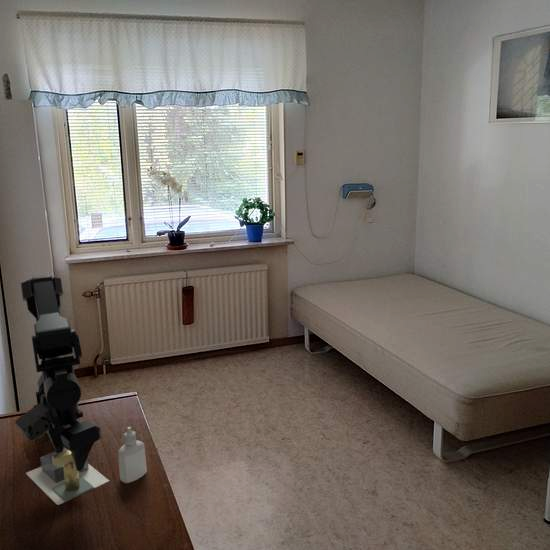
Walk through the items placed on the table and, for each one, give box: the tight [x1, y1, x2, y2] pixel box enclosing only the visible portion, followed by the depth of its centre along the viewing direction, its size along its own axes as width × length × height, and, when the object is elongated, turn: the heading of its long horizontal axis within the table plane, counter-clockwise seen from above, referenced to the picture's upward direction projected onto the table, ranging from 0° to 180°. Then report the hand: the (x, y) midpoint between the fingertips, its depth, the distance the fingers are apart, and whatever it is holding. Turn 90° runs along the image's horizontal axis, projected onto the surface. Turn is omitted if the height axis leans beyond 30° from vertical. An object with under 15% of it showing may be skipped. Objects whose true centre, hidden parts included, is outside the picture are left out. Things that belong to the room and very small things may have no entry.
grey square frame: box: [39, 447, 89, 483], centre depth 120 cm, size 7×7×3 cm
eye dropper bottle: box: [117, 426, 148, 484], centre depth 116 cm, size 4×6×12 cm
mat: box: [52, 476, 95, 502], centre depth 113 cm, size 6×6×1 cm
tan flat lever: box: [52, 450, 80, 491], centre depth 112 cm, size 6×3×8 cm, turn 135°
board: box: [25, 463, 110, 506], centre depth 118 cm, size 16×11×1 cm
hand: (69, 461), depth 112 cm, fingers open, 9 cm apart
